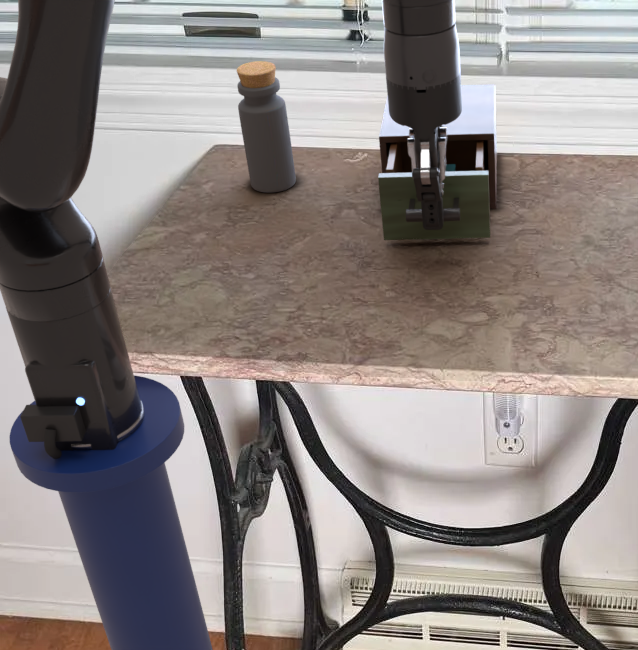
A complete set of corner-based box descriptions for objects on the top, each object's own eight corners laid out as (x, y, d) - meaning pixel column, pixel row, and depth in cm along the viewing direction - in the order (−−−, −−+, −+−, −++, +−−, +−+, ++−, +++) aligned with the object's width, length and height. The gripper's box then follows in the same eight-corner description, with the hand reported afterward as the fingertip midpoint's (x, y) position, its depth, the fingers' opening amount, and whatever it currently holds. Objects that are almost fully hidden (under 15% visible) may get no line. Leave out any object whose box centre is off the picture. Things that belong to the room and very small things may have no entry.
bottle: (282, 169, 156) (265, 55, 147) (304, 184, 152) (288, 68, 143) (242, 182, 154) (223, 67, 144) (264, 197, 150) (245, 80, 140)
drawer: (489, 255, 134) (487, 191, 129) (380, 258, 134) (374, 194, 130) (491, 183, 149) (489, 123, 144) (393, 185, 149) (387, 125, 144)
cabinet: (496, 208, 145) (494, 133, 139) (385, 211, 146) (378, 136, 139) (496, 155, 157) (495, 83, 151) (394, 157, 158) (388, 86, 152)
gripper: (390, 47, 124) (403, 200, 135) (379, 96, 114) (394, 257, 125) (462, 45, 124) (469, 198, 135) (458, 94, 113) (465, 255, 124)
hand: (433, 226), depth 130 cm, fingers closed
